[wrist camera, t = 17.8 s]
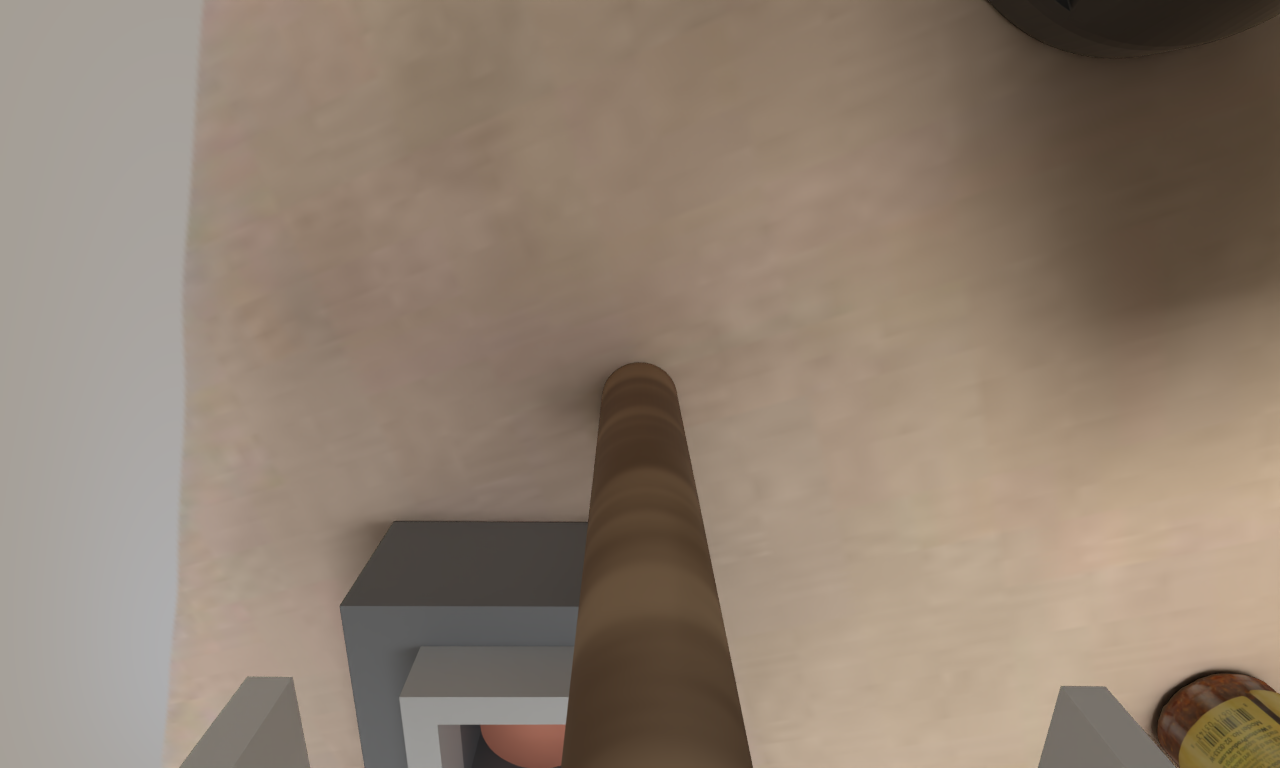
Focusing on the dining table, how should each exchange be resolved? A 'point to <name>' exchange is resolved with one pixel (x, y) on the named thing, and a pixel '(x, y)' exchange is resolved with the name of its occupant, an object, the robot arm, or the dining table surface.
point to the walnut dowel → (649, 600)
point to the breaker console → (461, 637)
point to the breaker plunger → (527, 743)
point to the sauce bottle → (1222, 723)
